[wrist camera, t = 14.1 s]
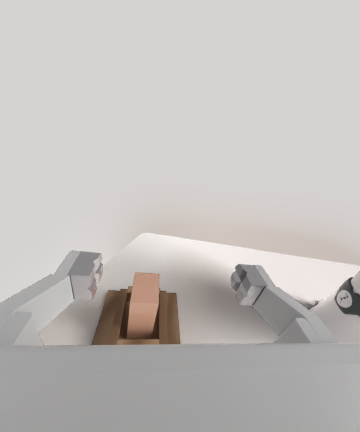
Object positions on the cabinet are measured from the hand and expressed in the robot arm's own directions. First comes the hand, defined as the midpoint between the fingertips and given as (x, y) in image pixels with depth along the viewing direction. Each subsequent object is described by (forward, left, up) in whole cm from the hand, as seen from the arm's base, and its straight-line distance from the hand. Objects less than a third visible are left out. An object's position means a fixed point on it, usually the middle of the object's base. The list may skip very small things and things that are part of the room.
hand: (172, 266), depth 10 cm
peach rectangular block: (+5, -11, -29) cm, 32 cm away
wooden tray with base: (+5, -11, -30) cm, 32 cm away
